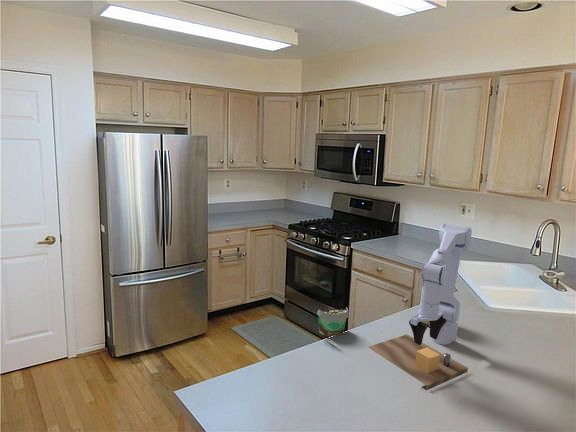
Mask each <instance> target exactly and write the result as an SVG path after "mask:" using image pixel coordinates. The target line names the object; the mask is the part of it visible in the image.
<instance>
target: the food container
mask: <svg viewBox="0 0 576 432" xmlns="http://www.w3.org/2000/svg"><path fill="white" fill-rule="evenodd" d="M316 315H317V316H318V331H319V332H318V335H320V337H323V338H324V339H325V338H326V339H329V340H331V337H329V336H333V337H334V336H335V337H336V336H340V335H342V334H343V333H345V328H346V322H347V318H349V316H350V314H349V309H348V307H347V306H346V307H345V308H343V309H328V310H320V309H318V310H317V312H316Z"/></svg>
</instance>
